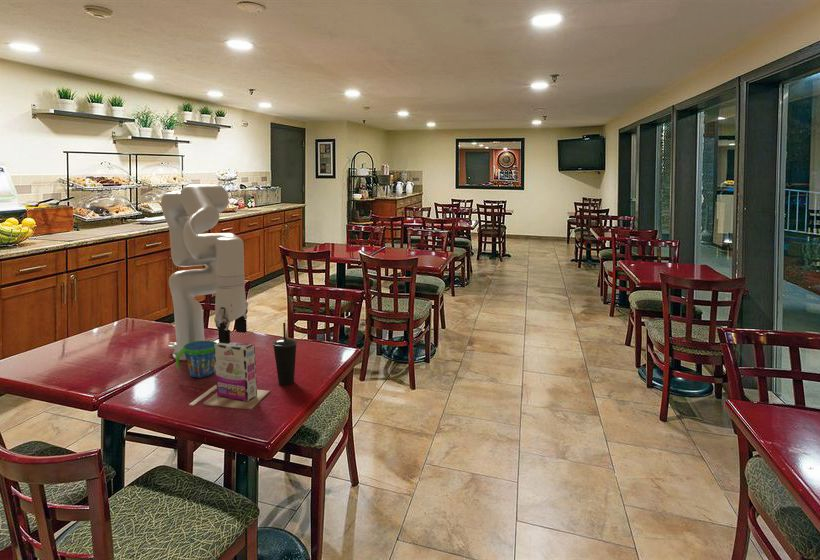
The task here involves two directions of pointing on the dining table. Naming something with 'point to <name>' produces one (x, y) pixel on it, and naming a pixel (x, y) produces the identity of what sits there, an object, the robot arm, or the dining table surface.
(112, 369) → the dining table surface
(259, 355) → the dining table surface
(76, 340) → the dining table surface
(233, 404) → the board
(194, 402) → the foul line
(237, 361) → the candy bar box
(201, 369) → the snack cup
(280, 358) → the drinking cup
